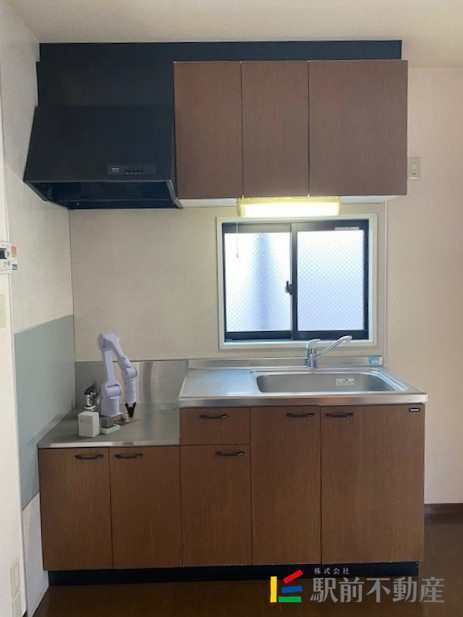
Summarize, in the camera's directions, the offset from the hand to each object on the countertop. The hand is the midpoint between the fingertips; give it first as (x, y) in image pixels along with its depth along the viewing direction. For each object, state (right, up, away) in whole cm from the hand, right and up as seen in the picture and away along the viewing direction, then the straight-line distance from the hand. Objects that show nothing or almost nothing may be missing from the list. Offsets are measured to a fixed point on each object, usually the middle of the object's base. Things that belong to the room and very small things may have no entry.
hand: (131, 417), depth 260 cm
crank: (-3, -1, +1) cm, 4 cm away
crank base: (-5, -3, +4) cm, 7 cm away
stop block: (-9, -4, -11) cm, 15 cm away
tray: (-9, -4, -11) cm, 15 cm away
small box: (-17, -5, -17) cm, 24 cm away
